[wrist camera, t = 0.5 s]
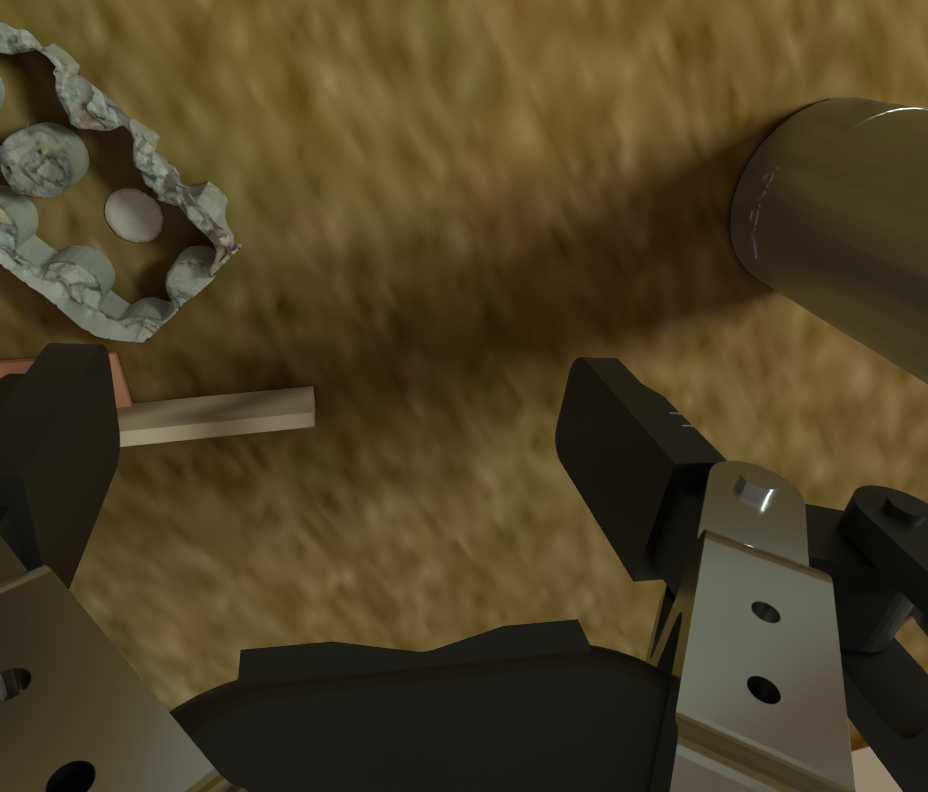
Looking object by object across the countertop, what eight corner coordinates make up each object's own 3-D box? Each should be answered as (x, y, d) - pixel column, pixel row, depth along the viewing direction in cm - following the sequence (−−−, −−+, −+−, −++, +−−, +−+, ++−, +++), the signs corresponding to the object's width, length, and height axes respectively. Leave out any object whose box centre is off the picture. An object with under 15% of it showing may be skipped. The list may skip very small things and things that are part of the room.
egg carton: (263, 223, 28) (255, 253, 25) (145, 330, 30) (122, 373, 26) (33, -4, 23) (-17, -6, 19) (-97, 140, 24) (-166, 162, 21)
